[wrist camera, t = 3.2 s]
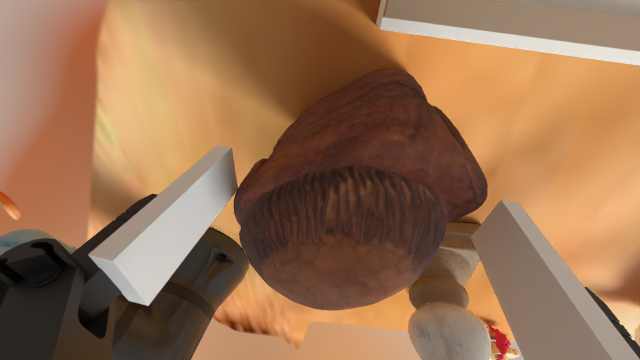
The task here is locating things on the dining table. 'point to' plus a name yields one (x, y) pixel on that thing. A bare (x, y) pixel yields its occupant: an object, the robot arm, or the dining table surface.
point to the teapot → (637, 335)
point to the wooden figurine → (357, 194)
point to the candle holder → (448, 302)
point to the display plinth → (525, 24)
